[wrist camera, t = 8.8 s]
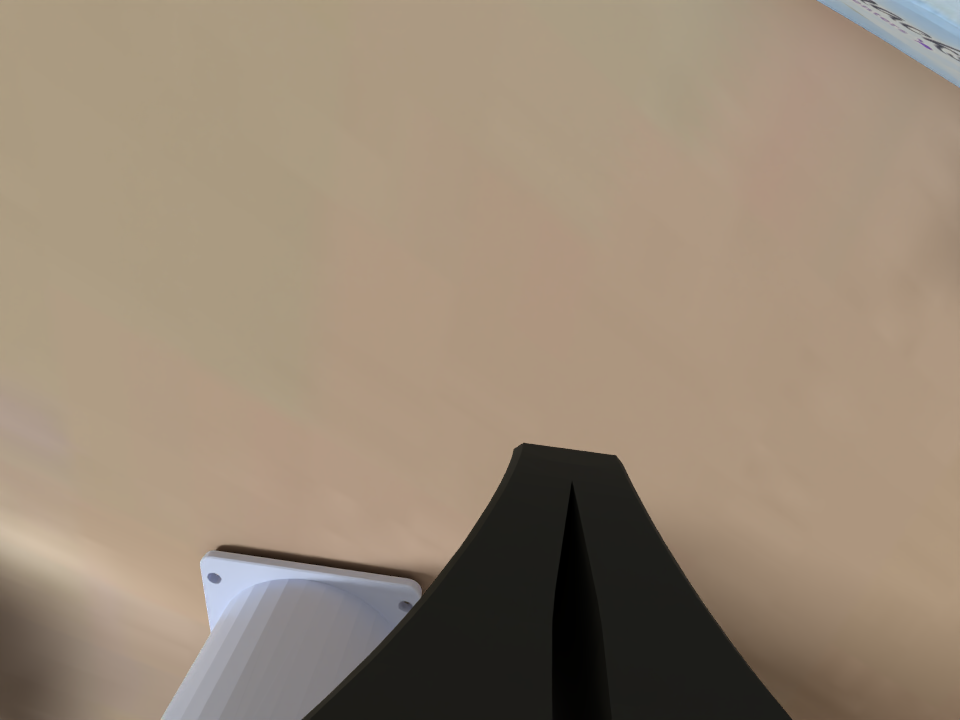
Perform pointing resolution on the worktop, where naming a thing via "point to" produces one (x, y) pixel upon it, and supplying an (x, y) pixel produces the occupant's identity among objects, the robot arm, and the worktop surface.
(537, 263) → the worktop surface
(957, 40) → the snack box
